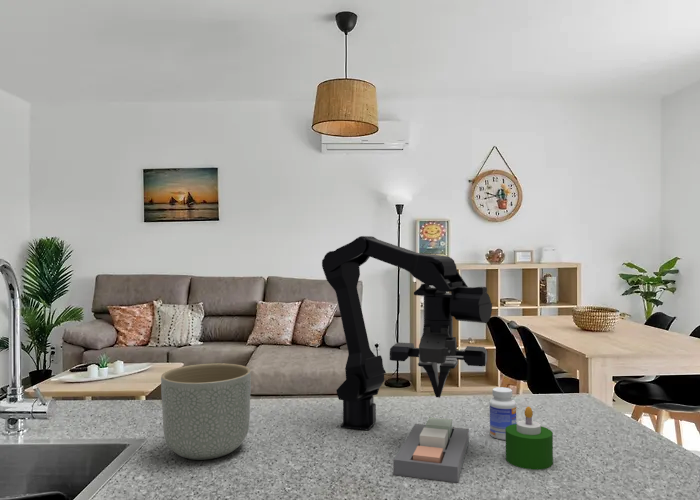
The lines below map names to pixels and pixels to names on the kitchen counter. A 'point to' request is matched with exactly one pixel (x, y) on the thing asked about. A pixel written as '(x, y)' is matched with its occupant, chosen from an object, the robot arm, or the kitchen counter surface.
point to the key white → (434, 438)
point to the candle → (529, 444)
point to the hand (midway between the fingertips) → (438, 396)
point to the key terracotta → (428, 454)
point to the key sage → (440, 424)
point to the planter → (206, 409)
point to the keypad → (430, 470)
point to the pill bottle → (501, 412)
